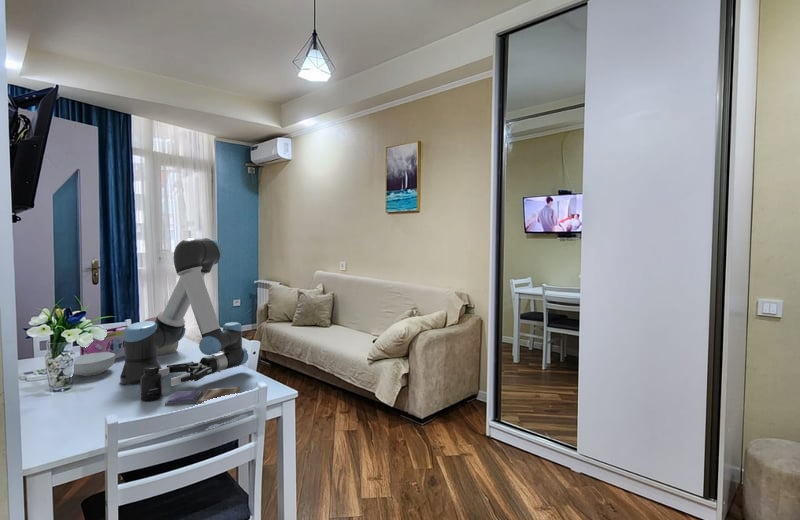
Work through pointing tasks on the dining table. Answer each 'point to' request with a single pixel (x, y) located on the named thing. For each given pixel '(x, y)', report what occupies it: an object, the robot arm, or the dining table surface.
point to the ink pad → (184, 397)
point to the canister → (165, 349)
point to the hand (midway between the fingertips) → (161, 378)
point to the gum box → (108, 343)
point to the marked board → (217, 393)
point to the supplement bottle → (151, 384)
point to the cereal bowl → (93, 363)
